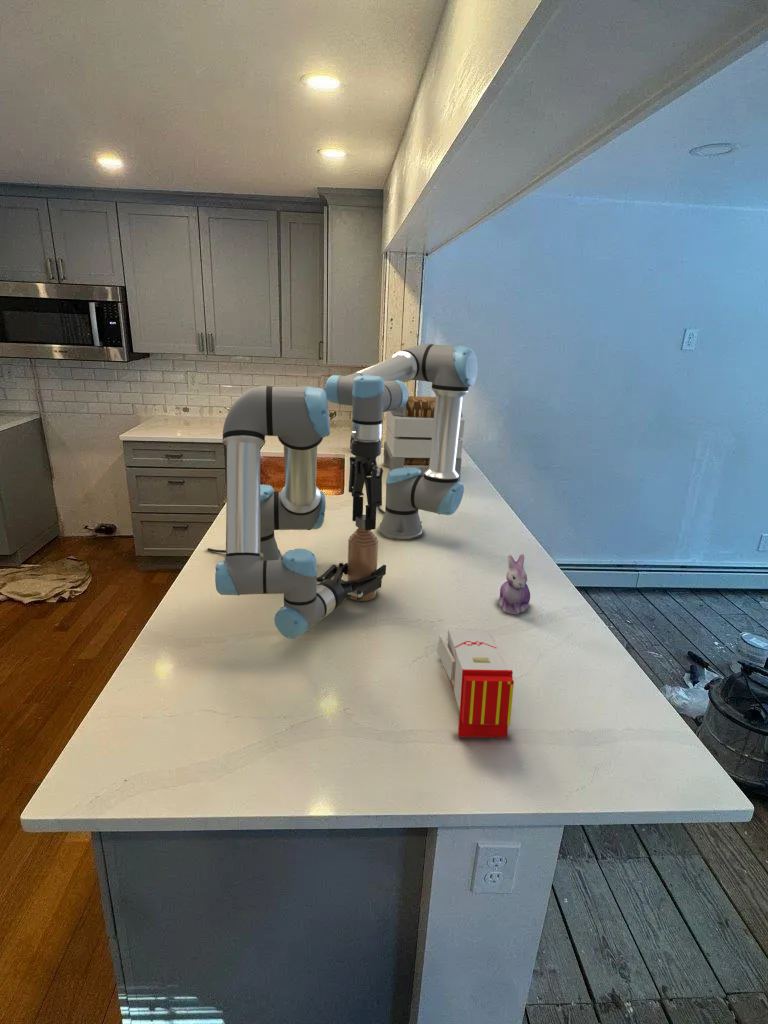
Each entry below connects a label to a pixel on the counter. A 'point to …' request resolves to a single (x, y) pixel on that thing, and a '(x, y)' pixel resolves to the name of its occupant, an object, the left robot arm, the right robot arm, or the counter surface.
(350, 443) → the figurine character
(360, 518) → the cap
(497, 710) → the toy
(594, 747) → the counter surface
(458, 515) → the counter surface
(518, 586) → the figurine
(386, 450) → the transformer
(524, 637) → the counter surface
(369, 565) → the tan bottle
